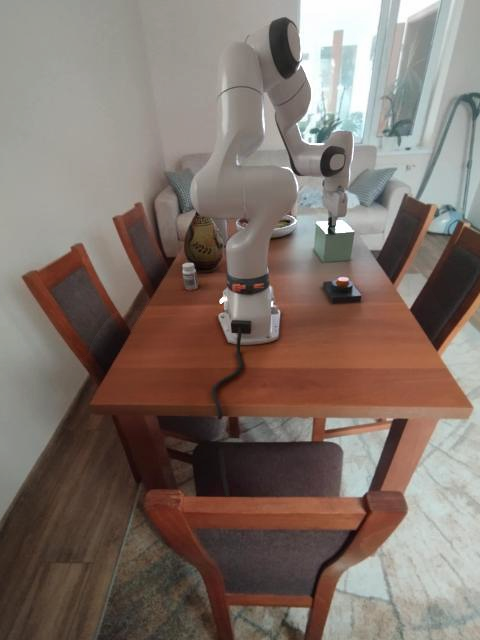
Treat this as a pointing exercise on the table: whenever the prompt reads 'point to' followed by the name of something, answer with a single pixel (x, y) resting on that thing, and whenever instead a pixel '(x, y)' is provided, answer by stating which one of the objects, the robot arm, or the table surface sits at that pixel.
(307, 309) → the table surface
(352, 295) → the black button base
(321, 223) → the pale green box
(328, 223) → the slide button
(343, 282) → the button
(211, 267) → the ceramic jug
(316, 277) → the table surface
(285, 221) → the bowl
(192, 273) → the pill bottle
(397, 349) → the table surface
